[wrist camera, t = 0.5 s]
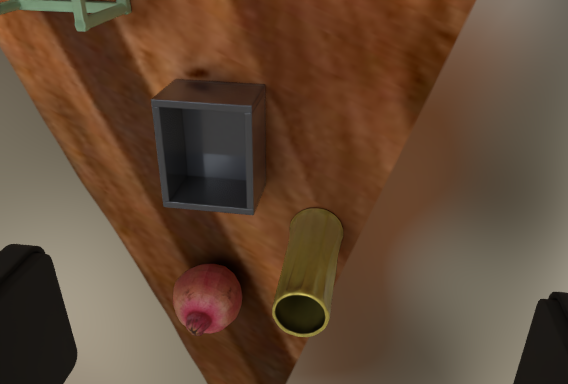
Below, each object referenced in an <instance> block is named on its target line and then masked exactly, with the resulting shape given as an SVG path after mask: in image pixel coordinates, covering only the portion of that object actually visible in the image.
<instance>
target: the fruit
mask: <svg viewBox="0 0 568 384" xmlns="http://www.w3.org/2000/svg"><path fill="white" fill-rule="evenodd" d="M241 304H242V291H241V287H240V284H239V282H238V280H237V278H236V276H235V275H234V273H232V272H231V271H230V270H229V269H228V268H227V267H225V266H221V265H217V264H213V263H212V264H201V265H198V266H196V267H193V268H191V269H189V270H187V271H186V272H185V273H184V274H183V275H182V276H181V277H180V278H179V279H178V280H177V281H176V282H175V286H174V290H173V306H174V309H175V312H176V315H177V317H178V318H179V320H180V322H181V323H182V324H183V325H184V326H186V328H187V330H188V331H189V332H190V333H191V334H192V335H195V336H196V335H199V336H201V335H202V334H203V333H214V332H218V331H221V330H222V329H224V328H225V327H226V326H228V325H229V324H230V323H231V322H232V321H234V320H235V319H236V317H237V315H238V313H239V310H240V307H241Z"/></svg>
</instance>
